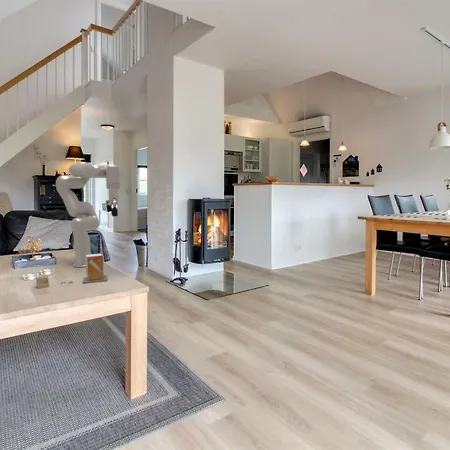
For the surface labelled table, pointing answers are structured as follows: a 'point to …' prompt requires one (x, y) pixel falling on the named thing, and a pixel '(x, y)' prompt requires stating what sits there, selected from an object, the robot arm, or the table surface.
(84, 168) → the robot arm
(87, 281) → the felt mat
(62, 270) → the table surface
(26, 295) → the table surface
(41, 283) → the oak block
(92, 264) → the small box
